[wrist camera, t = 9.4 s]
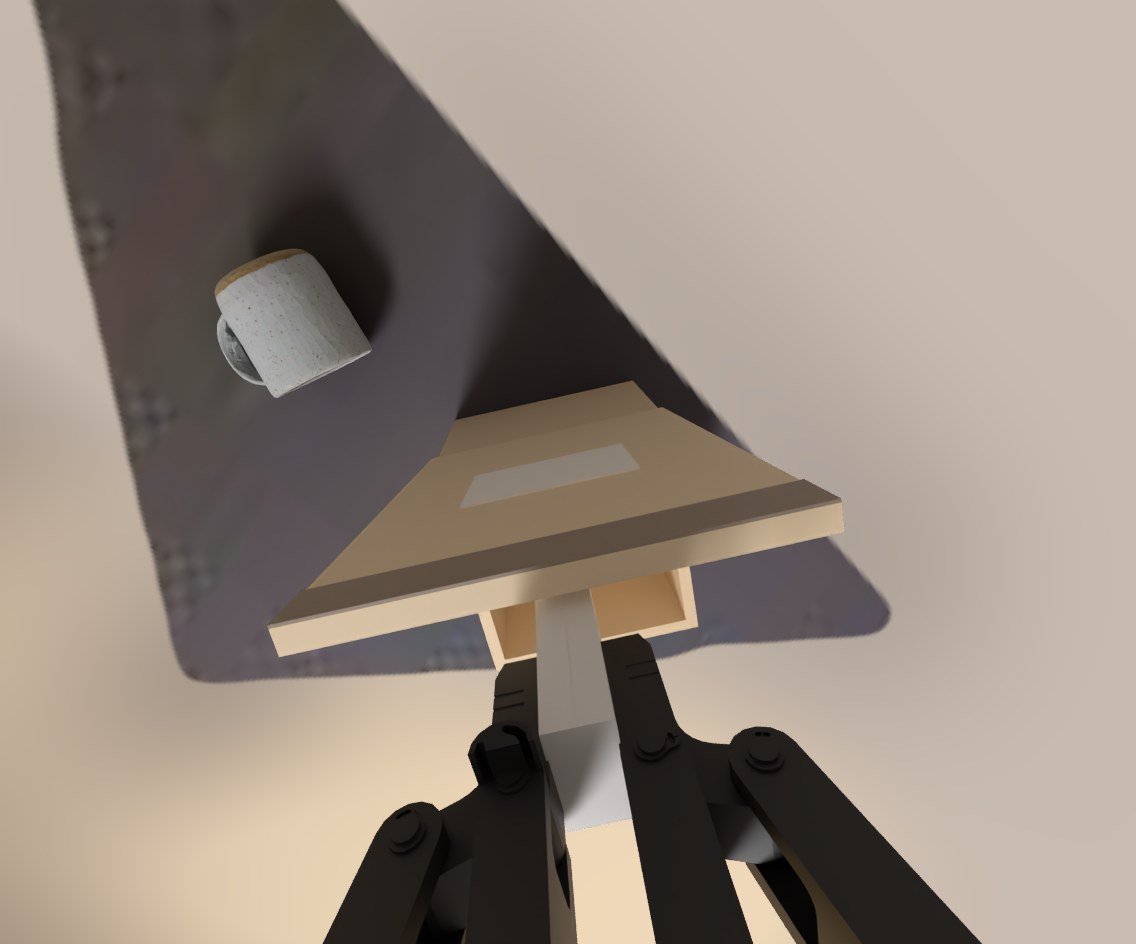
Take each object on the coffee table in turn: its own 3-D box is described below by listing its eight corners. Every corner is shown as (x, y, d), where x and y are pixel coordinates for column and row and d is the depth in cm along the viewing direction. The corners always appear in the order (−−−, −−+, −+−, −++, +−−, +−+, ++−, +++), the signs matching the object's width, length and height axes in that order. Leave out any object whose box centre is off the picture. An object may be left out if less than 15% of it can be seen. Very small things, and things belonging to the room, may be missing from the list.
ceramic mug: (322, 242, 40) (276, 238, 33) (385, 344, 43) (355, 361, 36) (203, 310, 41) (134, 321, 34) (272, 405, 44) (221, 433, 37)
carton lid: (435, 470, 34) (431, 456, 34) (664, 419, 34) (662, 405, 34) (279, 657, 14) (267, 625, 14) (844, 532, 14) (841, 498, 14)
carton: (454, 420, 46) (432, 470, 34) (632, 380, 46) (667, 418, 34) (502, 582, 51) (496, 670, 40) (660, 547, 51) (698, 626, 40)
